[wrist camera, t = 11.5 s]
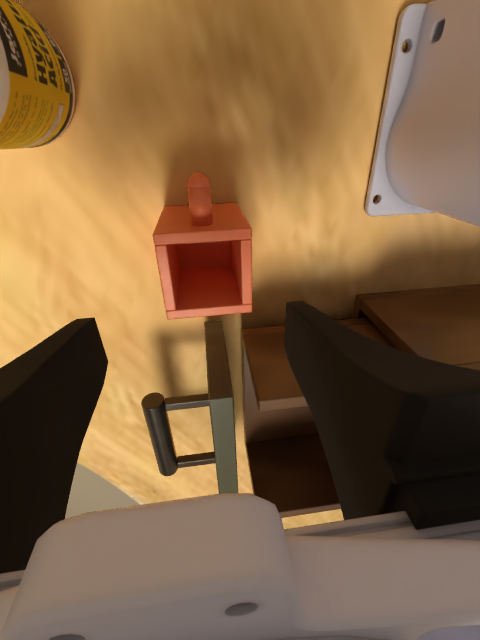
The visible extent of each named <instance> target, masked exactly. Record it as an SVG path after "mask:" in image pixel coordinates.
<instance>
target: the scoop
mask: <svg viewBox="0 0 480 640" xmlns="http://www.w3.org/2000/svg"><path fill="white" fill-rule="evenodd" d="M187 189H188V199H189V205H181V206H165V207H164V208H163V211H162V213H161V216H160V218H159V220H158V223H157V225H156V228H155V230H154V233H153V240H154V244H155V251H156V257H157V263H158V268H159V274H160V280H161V286H162V291H163V297H164V303H165V309H166V314H167V319H179V318H191V317H202V316H214V315H225V314H237V313H248V312H252V240H251V238H252V229H251V227H250V225H249V224H248V222H247V220H246V219H245V217H244V215H243V214H242V212H241V210H240V209H239V207H238V206H237V204H236V203H220V204H212V201H211V186H210V181H209V179H208V178H207V177H206V176H205V175H204V174H202V173H195V174H193V175H191V176H190V177H189V179H188V182H187Z"/></svg>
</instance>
